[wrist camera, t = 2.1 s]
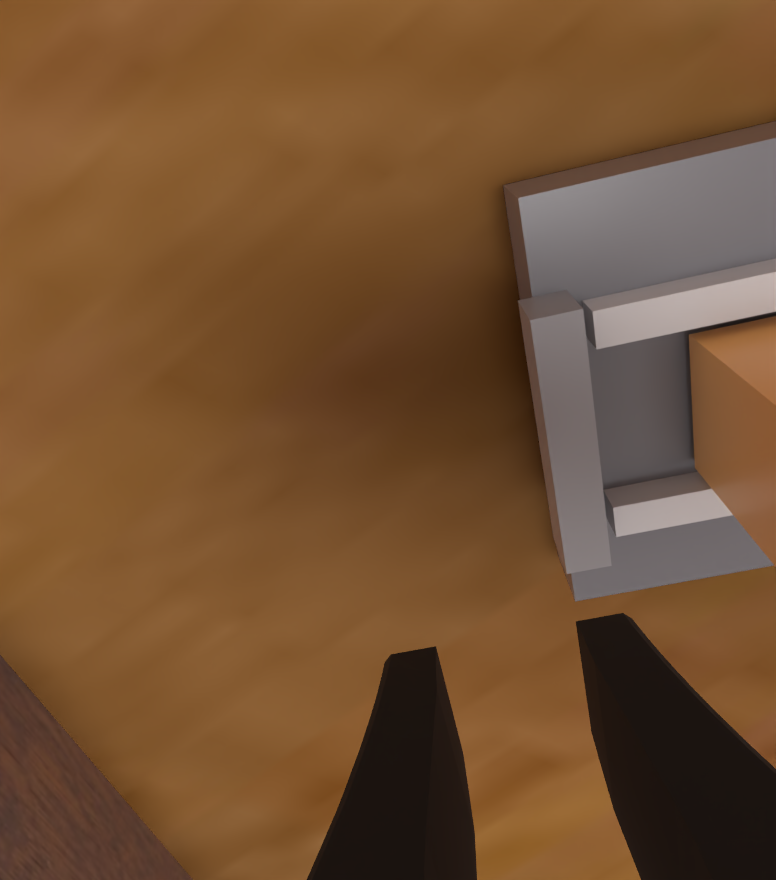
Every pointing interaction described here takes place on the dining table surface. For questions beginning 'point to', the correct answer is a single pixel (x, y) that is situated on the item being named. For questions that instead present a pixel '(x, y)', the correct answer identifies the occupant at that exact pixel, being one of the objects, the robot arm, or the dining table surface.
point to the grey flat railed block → (639, 347)
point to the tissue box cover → (64, 804)
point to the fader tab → (738, 422)
